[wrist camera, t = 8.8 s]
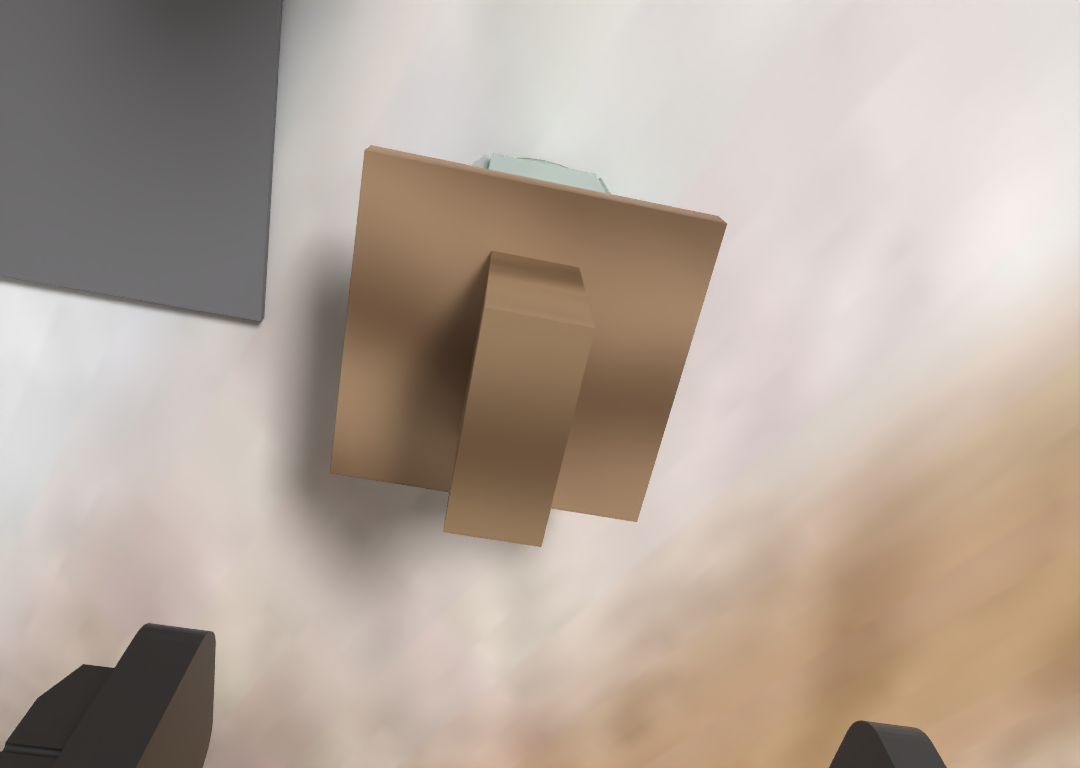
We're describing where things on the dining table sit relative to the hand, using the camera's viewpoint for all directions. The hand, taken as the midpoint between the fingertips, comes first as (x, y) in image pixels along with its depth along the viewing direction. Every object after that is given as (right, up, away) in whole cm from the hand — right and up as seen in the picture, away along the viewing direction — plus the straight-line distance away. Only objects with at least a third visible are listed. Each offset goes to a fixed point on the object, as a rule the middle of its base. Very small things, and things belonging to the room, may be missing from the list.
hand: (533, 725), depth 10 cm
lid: (-1, +6, +14) cm, 15 cm away
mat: (-15, +13, +16) cm, 25 cm away
